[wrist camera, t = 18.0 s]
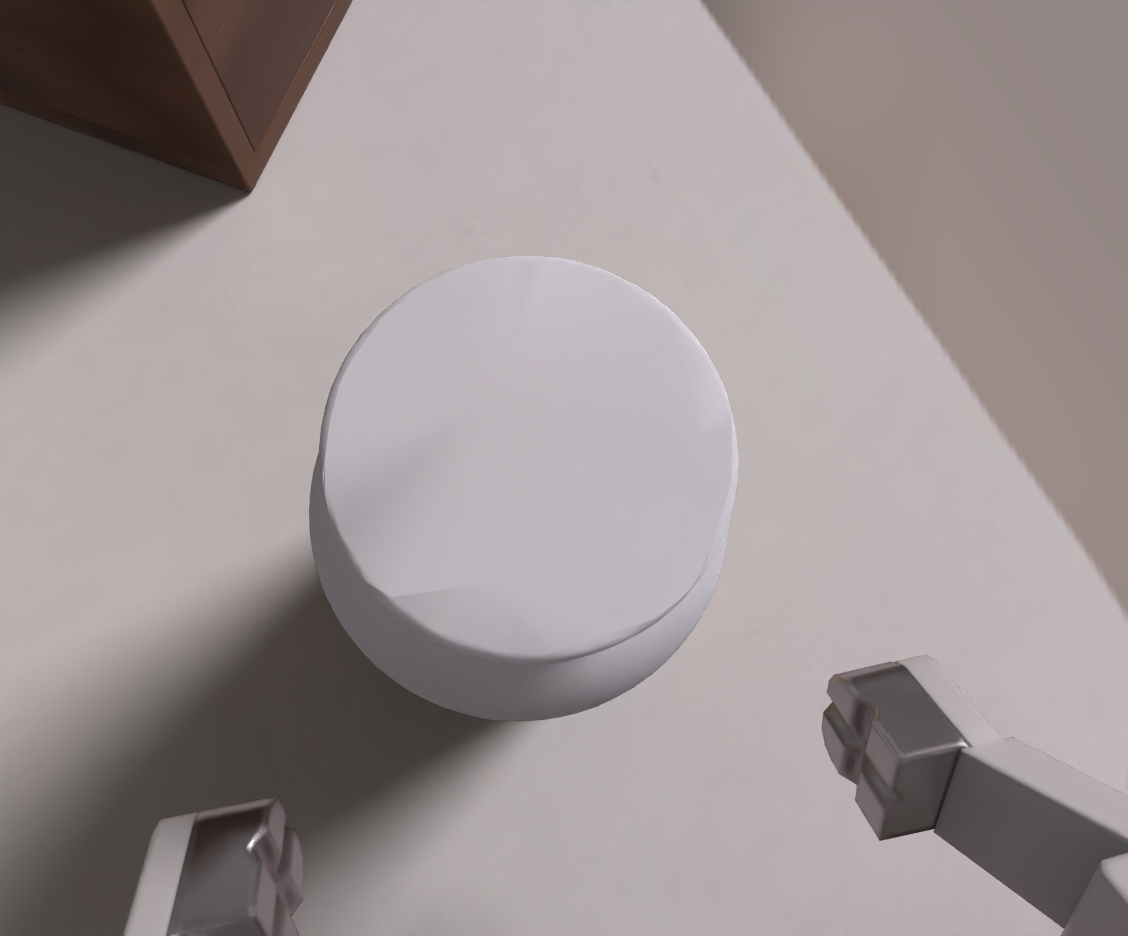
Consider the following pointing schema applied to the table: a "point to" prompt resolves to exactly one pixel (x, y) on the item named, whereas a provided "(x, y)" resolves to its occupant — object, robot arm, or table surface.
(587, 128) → the table surface
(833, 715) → the robot arm
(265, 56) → the wooden box
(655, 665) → the pill bottle
